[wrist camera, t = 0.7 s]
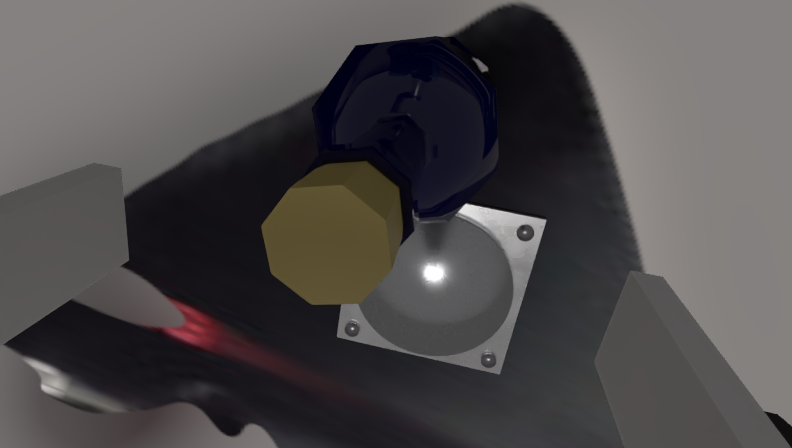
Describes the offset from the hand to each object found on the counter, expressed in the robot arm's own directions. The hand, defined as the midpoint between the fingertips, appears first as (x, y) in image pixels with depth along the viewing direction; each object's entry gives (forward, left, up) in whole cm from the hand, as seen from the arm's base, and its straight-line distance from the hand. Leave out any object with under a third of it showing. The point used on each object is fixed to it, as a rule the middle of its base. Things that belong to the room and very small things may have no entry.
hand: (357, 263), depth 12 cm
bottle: (-1, 0, -28) cm, 28 cm away
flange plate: (+15, +3, -28) cm, 32 cm away
